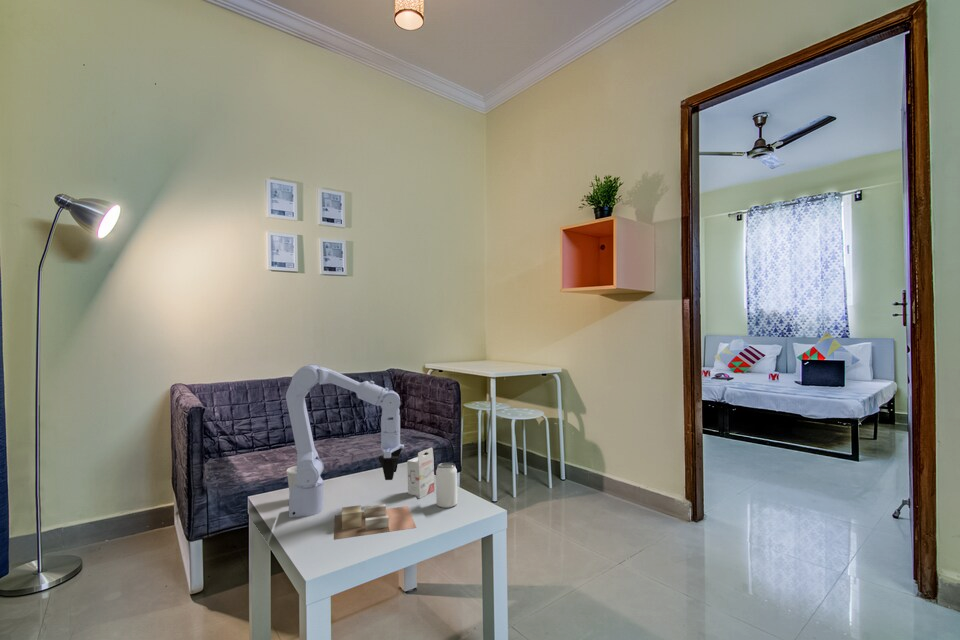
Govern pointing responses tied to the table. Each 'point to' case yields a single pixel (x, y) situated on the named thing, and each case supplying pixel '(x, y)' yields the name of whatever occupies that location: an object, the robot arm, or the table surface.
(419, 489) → the ink cartridge box
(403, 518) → the board
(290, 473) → the dixie cup
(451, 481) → the can
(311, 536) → the table surface
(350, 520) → the maple block
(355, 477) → the table surface
